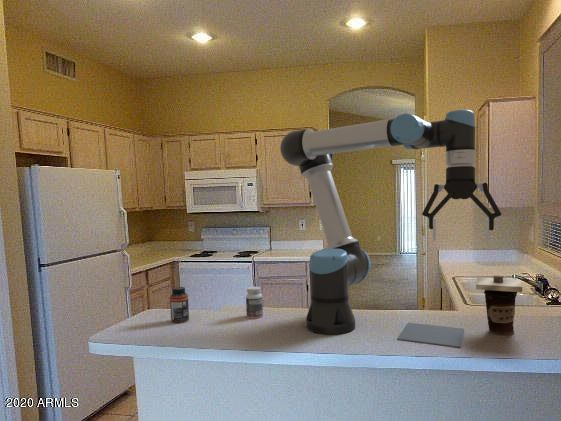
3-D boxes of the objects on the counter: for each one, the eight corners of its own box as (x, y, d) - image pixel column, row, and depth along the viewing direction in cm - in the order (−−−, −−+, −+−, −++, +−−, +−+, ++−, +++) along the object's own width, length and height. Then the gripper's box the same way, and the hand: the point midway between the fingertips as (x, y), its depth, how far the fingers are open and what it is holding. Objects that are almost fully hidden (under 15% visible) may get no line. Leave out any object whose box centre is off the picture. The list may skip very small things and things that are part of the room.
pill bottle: (248, 314, 141) (247, 286, 141) (264, 314, 140) (263, 286, 140) (245, 319, 135) (244, 289, 135) (261, 318, 135) (260, 289, 135)
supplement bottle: (175, 318, 139) (174, 285, 139) (192, 318, 138) (190, 285, 138) (167, 323, 133) (166, 289, 133) (184, 323, 132) (183, 289, 132)
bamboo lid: (476, 289, 111) (475, 278, 111) (477, 281, 121) (477, 272, 121) (522, 292, 106) (522, 280, 106) (519, 284, 116) (519, 273, 116)
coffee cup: (523, 337, 109) (522, 290, 108) (490, 336, 110) (489, 289, 110) (511, 327, 117) (510, 283, 117) (481, 327, 119) (480, 283, 119)
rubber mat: (397, 339, 111) (397, 338, 110) (407, 323, 125) (407, 322, 125) (460, 347, 103) (460, 346, 103) (464, 329, 117) (464, 328, 117)
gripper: (412, 167, 115) (412, 241, 116) (512, 163, 104) (512, 244, 105) (415, 169, 122) (416, 238, 123) (509, 165, 111) (509, 241, 112)
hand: (460, 241), depth 114 cm, fingers open, 13 cm apart
